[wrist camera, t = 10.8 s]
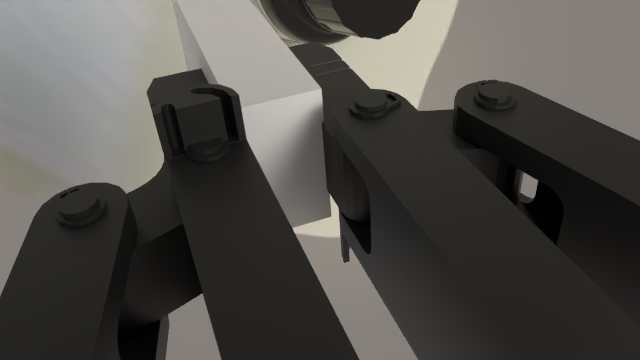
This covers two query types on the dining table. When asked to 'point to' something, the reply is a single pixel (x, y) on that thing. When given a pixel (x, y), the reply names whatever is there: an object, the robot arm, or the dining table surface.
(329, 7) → the ink bottle
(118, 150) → the dining table surface
